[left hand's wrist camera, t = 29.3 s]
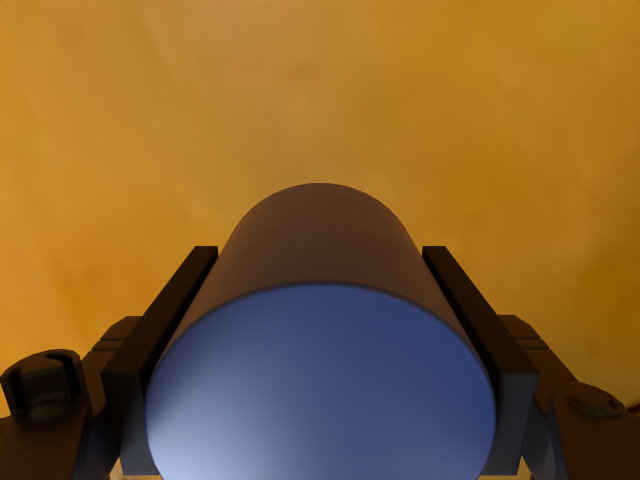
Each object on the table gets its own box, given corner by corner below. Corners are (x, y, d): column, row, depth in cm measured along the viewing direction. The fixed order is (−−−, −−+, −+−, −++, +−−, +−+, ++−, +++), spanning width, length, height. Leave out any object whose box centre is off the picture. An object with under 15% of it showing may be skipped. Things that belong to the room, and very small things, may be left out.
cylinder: (344, 385, 17) (360, 593, 10) (189, 300, 15) (85, 475, 8) (456, 252, 15) (575, 400, 8) (289, 140, 13) (257, 203, 6)
